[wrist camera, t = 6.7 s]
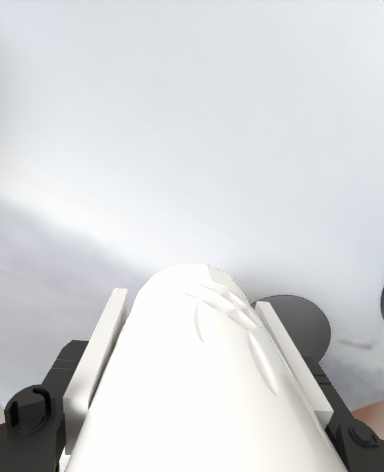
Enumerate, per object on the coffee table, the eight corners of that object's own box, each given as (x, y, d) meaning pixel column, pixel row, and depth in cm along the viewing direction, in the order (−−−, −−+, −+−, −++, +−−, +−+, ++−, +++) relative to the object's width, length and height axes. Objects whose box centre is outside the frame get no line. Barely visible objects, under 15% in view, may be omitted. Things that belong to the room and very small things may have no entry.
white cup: (127, 364, 16) (52, 672, 7) (120, 250, 13) (-20, 487, 4) (247, 362, 16) (341, 649, 7) (263, 252, 14) (442, 468, 4)
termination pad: (339, 296, 29) (342, 299, 29) (314, 379, 33) (317, 383, 33) (230, 293, 28) (232, 296, 28) (219, 379, 32) (220, 383, 32)
